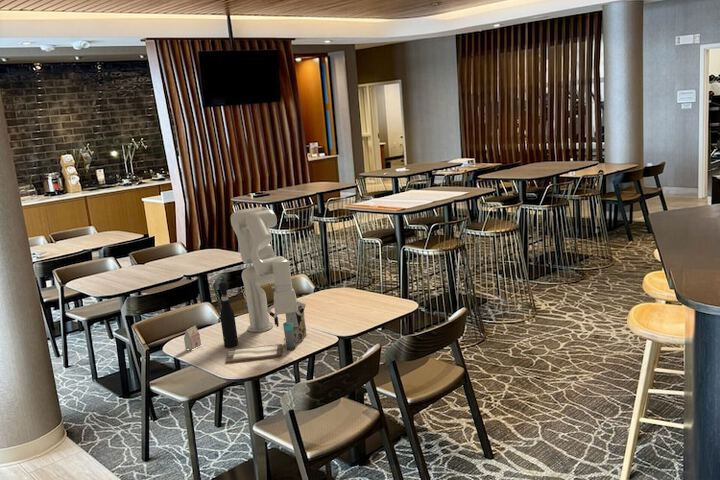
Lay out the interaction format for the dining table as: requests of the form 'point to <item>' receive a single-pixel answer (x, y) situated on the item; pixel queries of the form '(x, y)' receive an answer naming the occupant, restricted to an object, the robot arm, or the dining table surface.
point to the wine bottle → (227, 319)
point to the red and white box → (192, 338)
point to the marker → (289, 335)
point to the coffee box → (297, 325)
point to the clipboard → (254, 353)
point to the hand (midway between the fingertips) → (288, 324)
